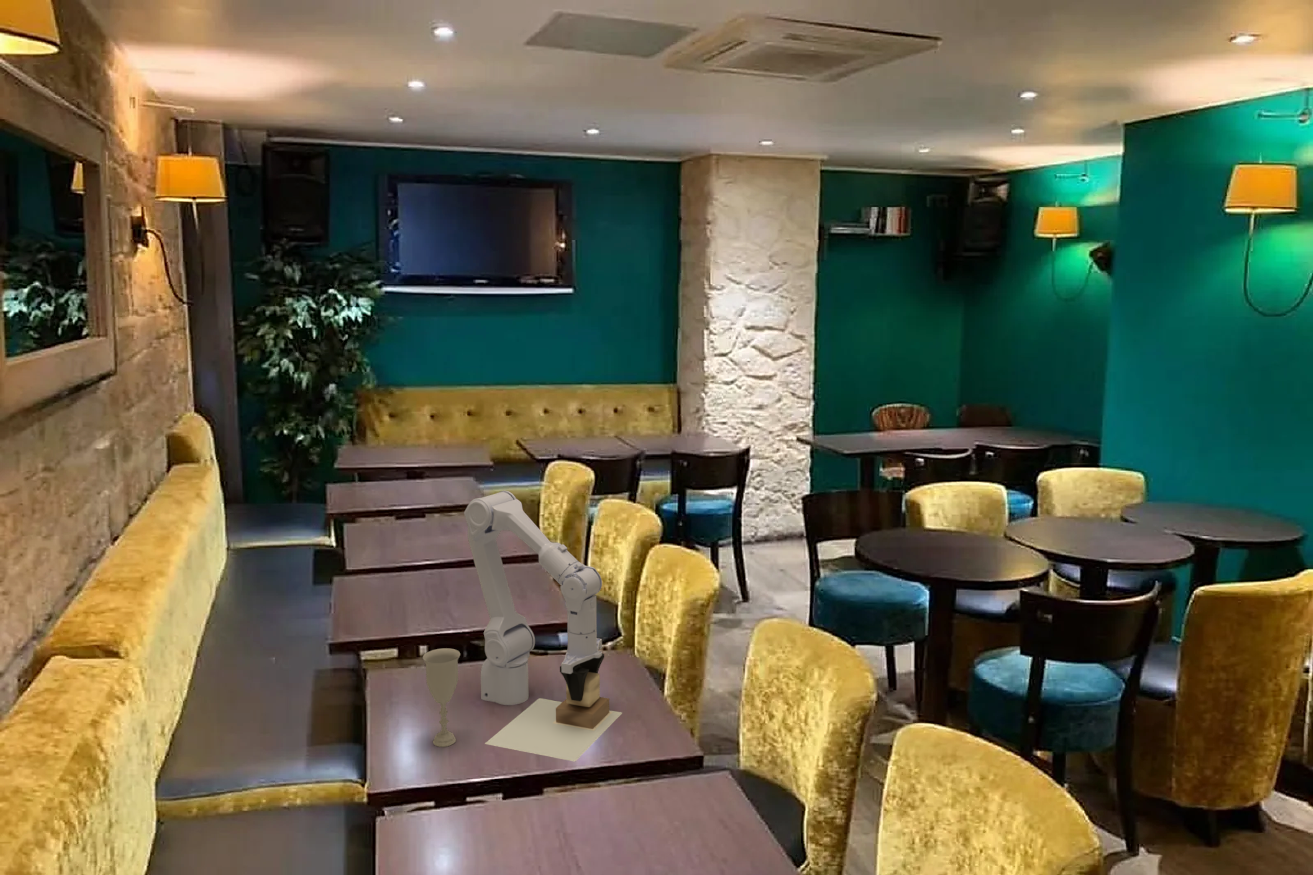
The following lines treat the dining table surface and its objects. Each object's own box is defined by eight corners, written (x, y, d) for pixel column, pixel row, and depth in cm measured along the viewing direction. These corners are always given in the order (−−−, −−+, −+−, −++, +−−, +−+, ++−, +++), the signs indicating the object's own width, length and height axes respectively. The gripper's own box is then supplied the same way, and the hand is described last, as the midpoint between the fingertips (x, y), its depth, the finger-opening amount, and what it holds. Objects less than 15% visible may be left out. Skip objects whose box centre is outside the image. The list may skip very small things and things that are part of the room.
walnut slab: (556, 722, 198) (555, 708, 198) (573, 706, 206) (573, 692, 205) (592, 729, 196) (592, 714, 195) (609, 712, 203) (609, 698, 202)
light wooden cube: (566, 703, 199) (566, 679, 198) (577, 693, 203) (576, 670, 202) (589, 707, 197) (589, 683, 196) (599, 697, 201) (599, 673, 201)
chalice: (453, 756, 186) (450, 664, 183) (419, 752, 188) (416, 661, 185) (468, 738, 193) (466, 649, 190) (435, 735, 195) (432, 647, 192)
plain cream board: (484, 748, 190) (484, 743, 189) (539, 701, 210) (539, 697, 210) (575, 766, 183) (575, 761, 183) (622, 716, 203) (622, 712, 203)
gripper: (584, 644, 189) (585, 712, 192) (615, 620, 203) (615, 683, 205) (551, 639, 192) (552, 706, 194) (583, 615, 205) (584, 678, 208)
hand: (582, 694), depth 200 cm, fingers closed on light wooden cube, 5 cm apart
